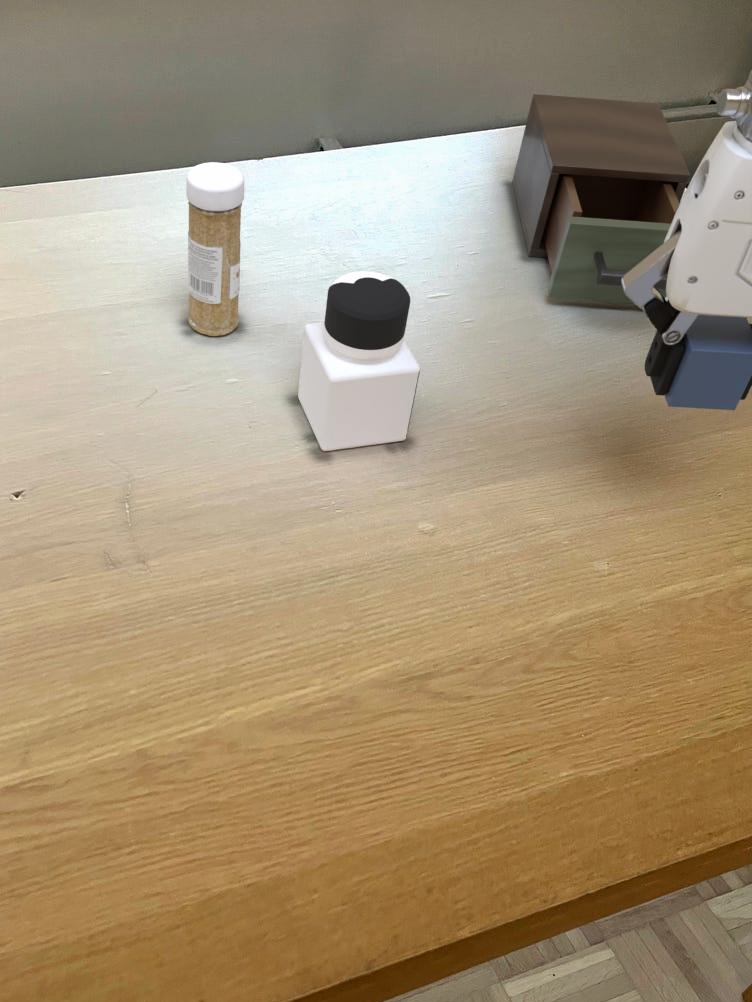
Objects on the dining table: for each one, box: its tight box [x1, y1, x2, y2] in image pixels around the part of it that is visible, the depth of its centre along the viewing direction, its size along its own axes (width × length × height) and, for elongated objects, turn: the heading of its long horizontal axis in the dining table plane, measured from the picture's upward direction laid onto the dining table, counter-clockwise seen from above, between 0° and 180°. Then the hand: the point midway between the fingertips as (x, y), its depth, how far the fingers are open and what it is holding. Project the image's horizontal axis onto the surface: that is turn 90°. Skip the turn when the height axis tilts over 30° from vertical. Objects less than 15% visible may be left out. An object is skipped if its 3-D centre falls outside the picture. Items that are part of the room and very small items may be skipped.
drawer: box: [543, 174, 680, 305], centre depth 97 cm, size 18×11×7 cm, turn 178°
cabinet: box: [511, 93, 691, 259], centre depth 104 cm, size 15×13×9 cm
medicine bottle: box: [297, 270, 421, 452], centre depth 81 cm, size 7×7×12 cm
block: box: [664, 315, 752, 411], centre depth 71 cm, size 5×5×5 cm
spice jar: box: [185, 161, 245, 337], centre depth 87 cm, size 5×5×14 cm
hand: (696, 382), depth 72 cm, fingers closed on block, 4 cm apart
